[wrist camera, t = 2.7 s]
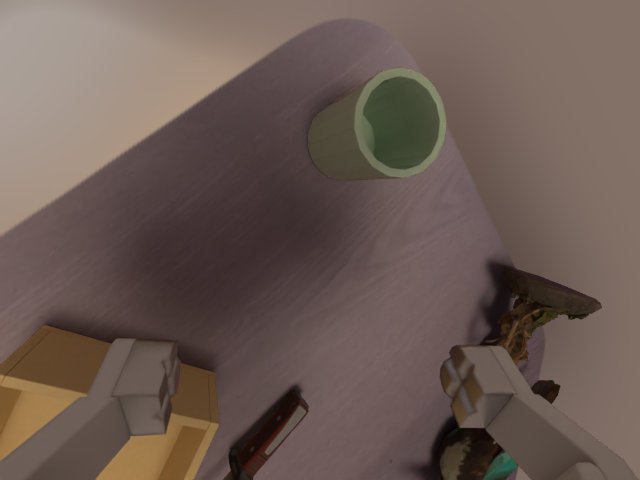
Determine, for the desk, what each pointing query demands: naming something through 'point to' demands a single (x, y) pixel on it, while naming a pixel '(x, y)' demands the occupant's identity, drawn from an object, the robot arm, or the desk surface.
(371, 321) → the desk surface
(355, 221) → the desk surface
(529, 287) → the sculpture
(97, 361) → the tote
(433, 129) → the tumbler
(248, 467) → the knife
